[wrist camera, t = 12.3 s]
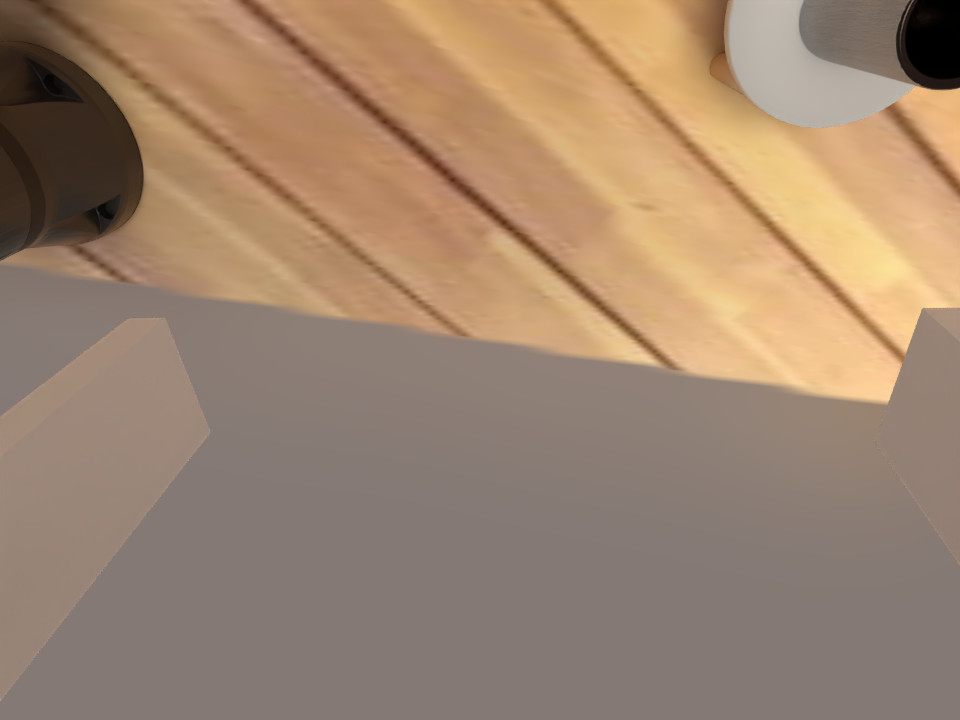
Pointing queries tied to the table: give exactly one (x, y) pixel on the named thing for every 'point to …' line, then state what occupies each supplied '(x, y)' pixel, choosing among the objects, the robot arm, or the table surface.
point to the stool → (794, 69)
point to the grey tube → (888, 38)
